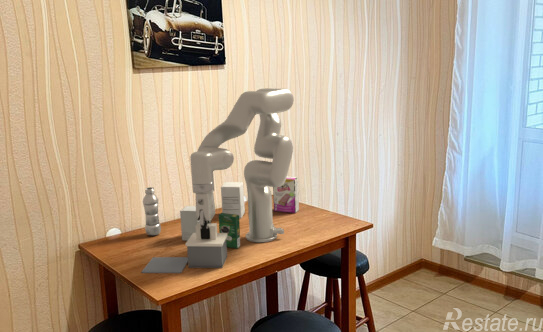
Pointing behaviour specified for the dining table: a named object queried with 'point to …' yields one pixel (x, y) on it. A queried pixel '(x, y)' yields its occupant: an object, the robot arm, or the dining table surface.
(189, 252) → the storage box
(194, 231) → the supplement box
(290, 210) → the candy bar box
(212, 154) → the robot arm
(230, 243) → the coffee box
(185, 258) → the mat
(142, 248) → the dining table surface
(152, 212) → the plastic bottle
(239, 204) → the supplement box
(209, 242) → the lid
